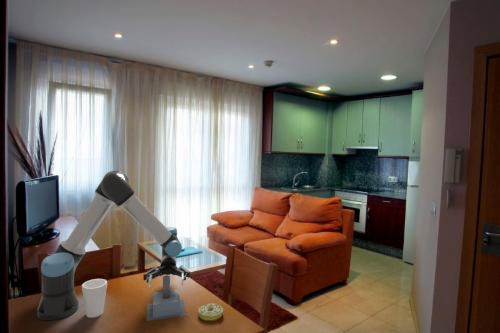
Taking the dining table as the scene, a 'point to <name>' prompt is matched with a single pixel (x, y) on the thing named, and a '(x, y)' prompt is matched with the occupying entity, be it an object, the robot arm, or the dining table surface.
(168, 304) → the cover
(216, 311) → the decorated donut
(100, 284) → the foam cup
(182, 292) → the dining table surface
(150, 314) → the mat
